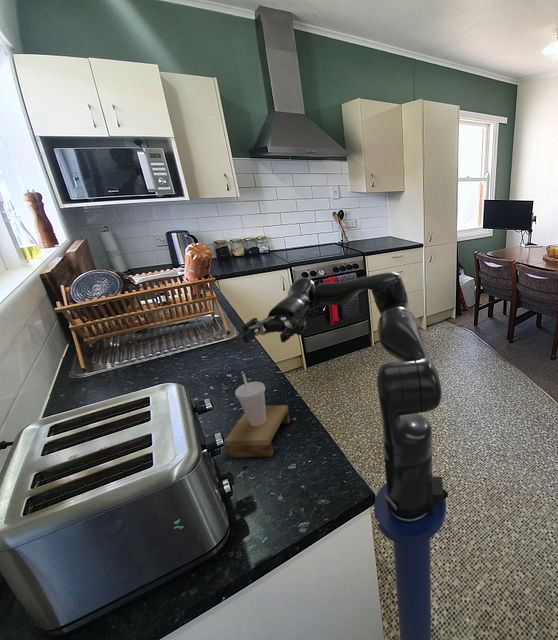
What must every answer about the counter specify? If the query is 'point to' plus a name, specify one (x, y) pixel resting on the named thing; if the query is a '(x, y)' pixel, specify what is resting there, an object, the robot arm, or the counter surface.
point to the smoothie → (252, 401)
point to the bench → (256, 434)
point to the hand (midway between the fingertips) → (263, 339)
